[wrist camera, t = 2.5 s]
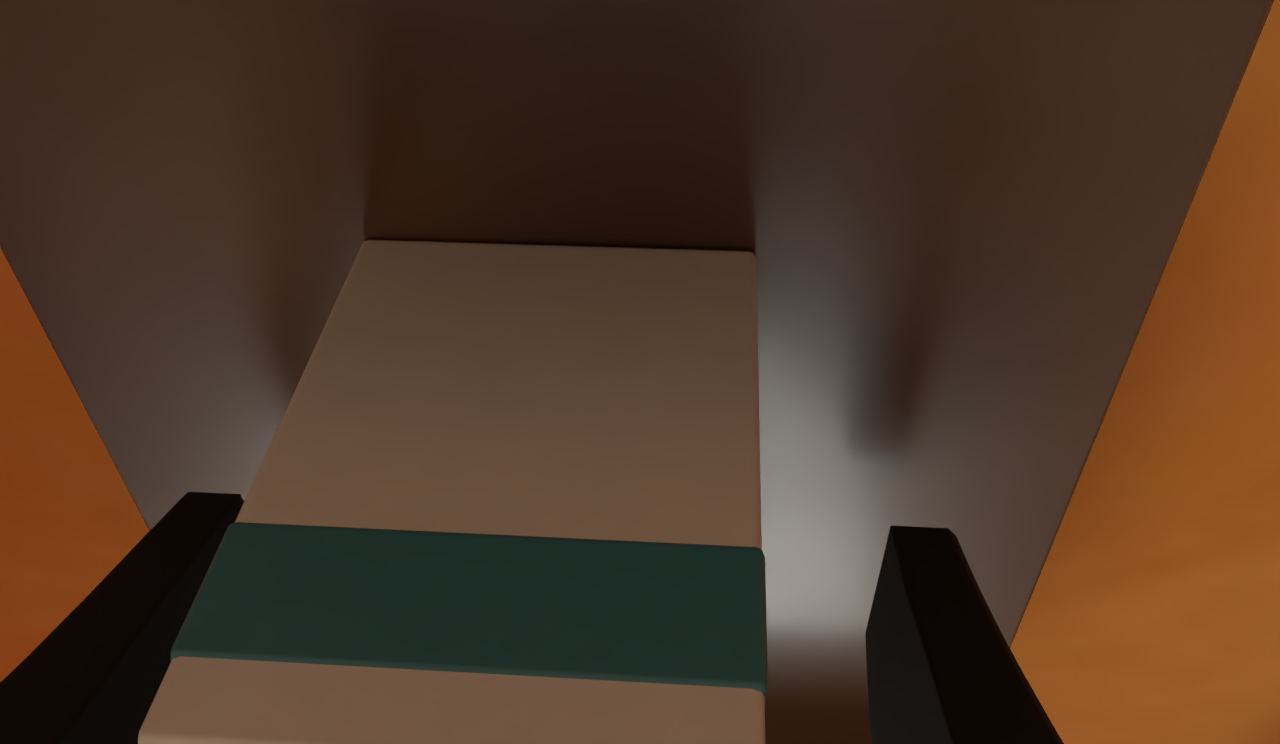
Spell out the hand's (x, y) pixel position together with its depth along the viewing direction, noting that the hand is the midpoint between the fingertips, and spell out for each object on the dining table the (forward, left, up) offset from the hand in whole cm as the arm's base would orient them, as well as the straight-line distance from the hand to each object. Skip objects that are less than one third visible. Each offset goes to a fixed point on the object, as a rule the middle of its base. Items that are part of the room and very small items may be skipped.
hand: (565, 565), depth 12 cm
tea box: (0, 0, -1) cm, 1 cm away
